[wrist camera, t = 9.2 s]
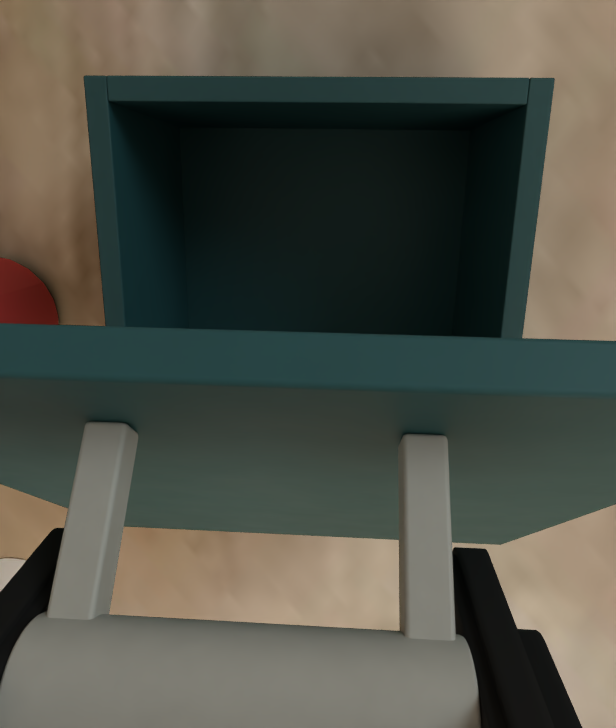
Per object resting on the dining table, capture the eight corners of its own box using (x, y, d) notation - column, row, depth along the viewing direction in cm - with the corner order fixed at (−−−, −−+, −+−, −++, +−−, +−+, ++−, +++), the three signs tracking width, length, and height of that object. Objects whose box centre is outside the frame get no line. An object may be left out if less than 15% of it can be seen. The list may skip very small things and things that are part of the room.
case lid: (-307, 312, 8) (-543, 777, 6) (876, 346, 7) (1071, 901, 5) (118, 506, 24) (94, 650, 22) (500, 524, 23) (511, 676, 21)
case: (167, 111, 29) (82, 75, 20) (485, 114, 28) (555, 77, 19) (183, 421, 34) (121, 510, 24) (455, 431, 33) (498, 528, 24)
